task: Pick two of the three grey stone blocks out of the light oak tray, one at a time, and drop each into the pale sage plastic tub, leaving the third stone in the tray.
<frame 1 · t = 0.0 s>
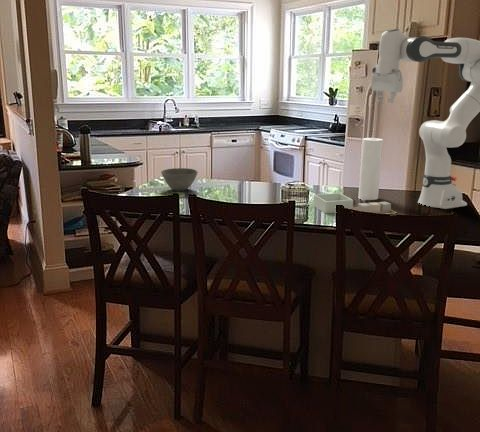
hand: (385, 102, 226), 48 cm above the counter, fingers open, 8 cm apart
gravel tray: (373, 214, 230), on the counter
stone a: (383, 211, 231), point 1 cm above the counter, touching gravel tray
stone b: (373, 212, 229), point 1 cm above the counter, touching gravel tray
stone c: (363, 213, 228), point 1 cm above the counter, touching gravel tray
cylinder container: (367, 199, 256), on the counter
tub: (332, 210, 236), on the counter
bowl: (180, 190, 270), on the counter
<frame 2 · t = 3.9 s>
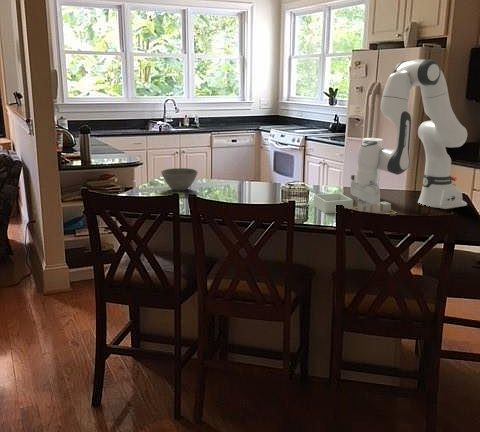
hand: (363, 209, 228), 2 cm above the counter, fingers closed on stone c, 4 cm apart
stone c: (363, 213, 228), point 1 cm above the counter, touching gravel tray, gripper
everything else where it was.
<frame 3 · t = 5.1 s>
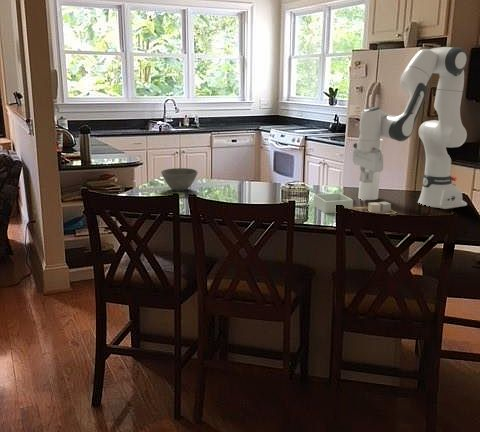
hand: (366, 178, 224), 17 cm above the counter, fingers closed on stone c, 4 cm apart
stone c: (365, 181, 224), point 15 cm above the counter, touching gripper
everything else where it was.
when the fingers open (9 cm above the counter, at t = 6.5 s): stone c drops 7 cm, resting on tub.
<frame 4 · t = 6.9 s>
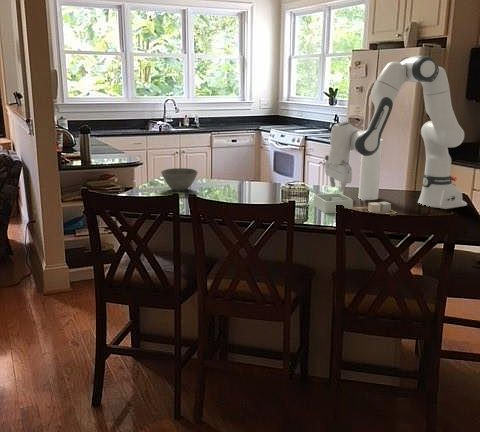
hand: (337, 189, 236), 9 cm above the counter, fingers open, 8 cm apart
stone c: (336, 206, 239), point 1 cm above the counter, touching tub
everything else where it was.
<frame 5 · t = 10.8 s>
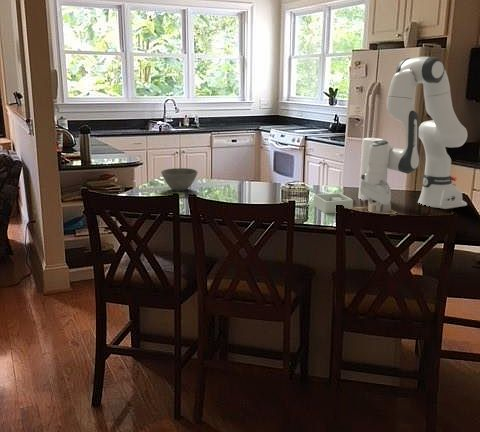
hand: (373, 209, 229), 2 cm above the counter, fingers closed on stone b, 4 cm apart
stone b: (373, 212, 229), point 1 cm above the counter, touching gravel tray, gripper
everything else where it was.
when the fingers open (9 cm above the counter, at t = 13.7 s): stone b drops 7 cm, resting on tub.
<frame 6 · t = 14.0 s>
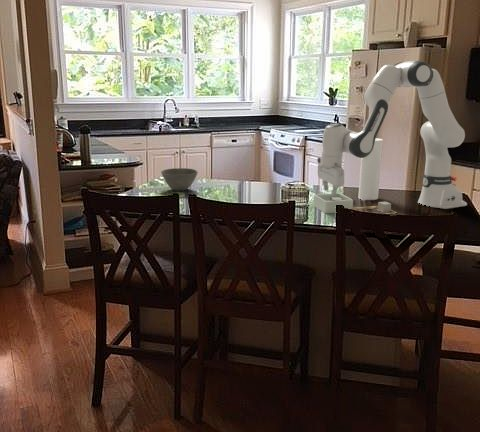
hand: (329, 192, 230), 9 cm above the counter, fingers open, 7 cm apart
stone b: (328, 210, 232), point 1 cm above the counter, touching tub
everything else where it was.
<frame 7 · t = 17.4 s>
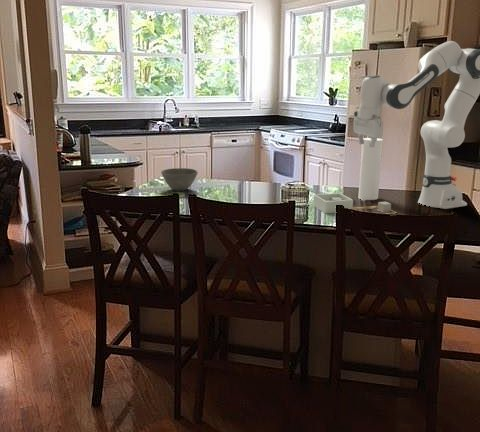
hand: (366, 145, 230), 29 cm above the counter, fingers open, 8 cm apart
nothing on the counter moved.
at the end: stone c inside the target area on the tub (4.0 cm from its centre), point 0.6 cm above the tub's base; stone b inside the target area on the tub (3.8 cm from its centre), point 0.6 cm above the tub's base; the gripper is holding nothing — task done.
